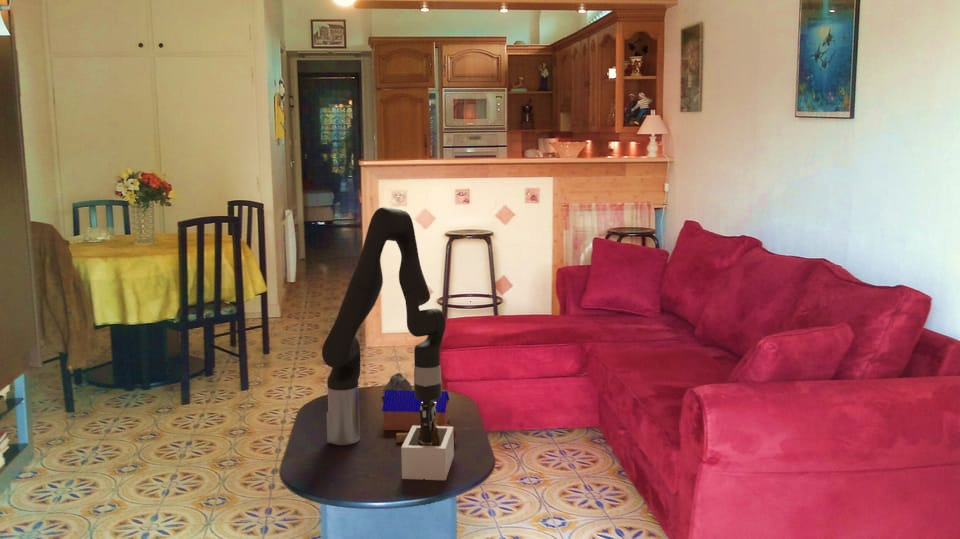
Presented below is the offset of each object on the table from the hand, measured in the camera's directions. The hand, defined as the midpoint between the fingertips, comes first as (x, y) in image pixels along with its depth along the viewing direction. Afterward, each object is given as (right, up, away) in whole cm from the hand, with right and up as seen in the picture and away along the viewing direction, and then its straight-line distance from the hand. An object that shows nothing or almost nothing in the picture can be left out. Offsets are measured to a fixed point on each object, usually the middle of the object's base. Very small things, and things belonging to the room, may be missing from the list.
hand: (428, 438), depth 234 cm
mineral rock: (-14, +1, +61) cm, 63 cm away
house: (-6, -3, +35) cm, 36 cm away
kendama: (-2, -6, +20) cm, 21 cm away
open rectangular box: (0, -8, +1) cm, 8 cm away
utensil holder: (0, -4, +1) cm, 4 cm away
